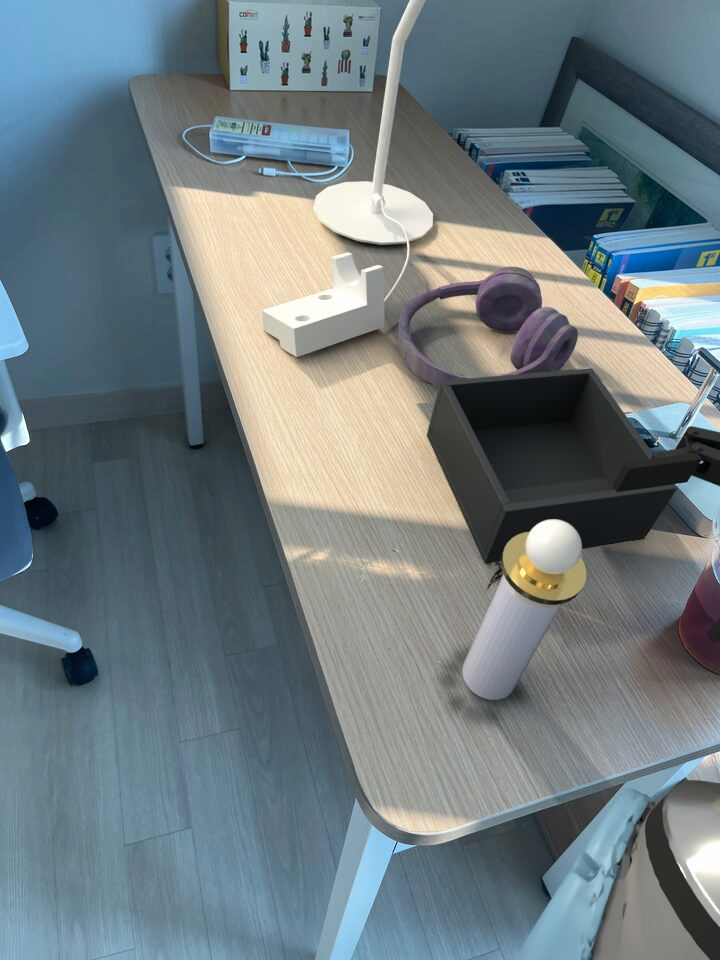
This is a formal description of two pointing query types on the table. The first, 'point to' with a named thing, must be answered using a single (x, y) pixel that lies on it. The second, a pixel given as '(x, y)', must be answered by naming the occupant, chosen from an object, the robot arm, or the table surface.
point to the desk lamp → (379, 178)
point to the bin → (541, 458)
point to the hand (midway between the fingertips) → (665, 546)
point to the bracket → (330, 310)
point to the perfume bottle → (524, 605)
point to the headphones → (500, 324)
